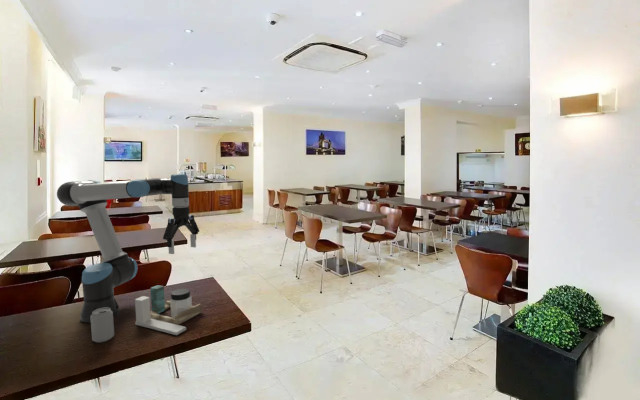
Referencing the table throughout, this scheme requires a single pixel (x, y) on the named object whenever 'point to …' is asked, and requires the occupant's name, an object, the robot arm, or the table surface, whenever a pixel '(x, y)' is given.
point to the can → (102, 324)
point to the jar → (180, 301)
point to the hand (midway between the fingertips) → (182, 250)
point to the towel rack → (160, 306)
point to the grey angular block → (145, 319)
